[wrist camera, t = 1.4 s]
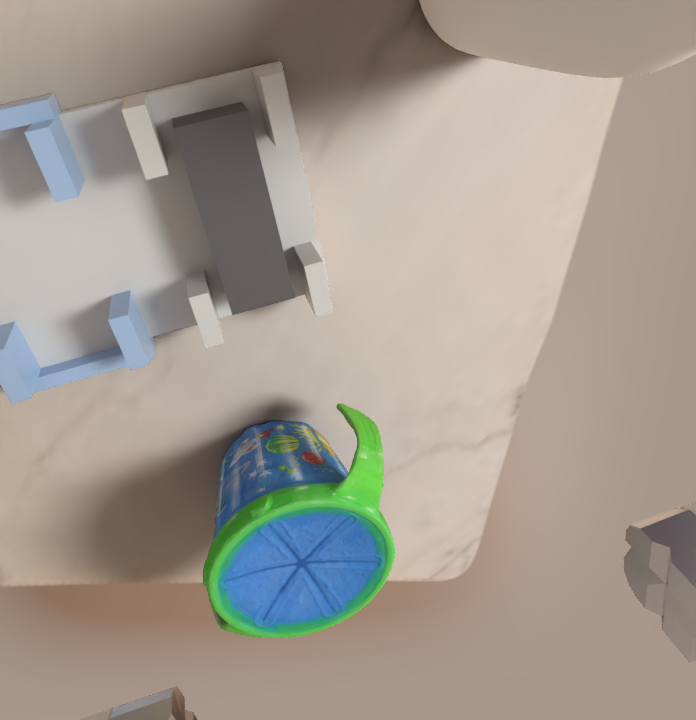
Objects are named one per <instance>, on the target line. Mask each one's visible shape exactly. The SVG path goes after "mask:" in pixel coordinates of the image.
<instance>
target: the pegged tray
mask: <svg viewBox="0 0 696 720" xmlns="http://www.w3.org/2000/svg"><path fill="white" fill-rule="evenodd" d="M239 102H242V103H243V104H244V105H245V107H246V108H247V109H248V111H249V115H250V119H251V123H252V127H253V131H254V135H255V139H256V143H257V147H258V151H259V155H260V159H261V163H262V167H263V171H264V175H265V179H266V183H267V187H268V191H269V195H270V199H271V203H272V207H273V211H274V215H275V219H276V223H277V227H278V231H279V235H280V239H281V243H282V247H283V251H284V255H285V259H286V263H287V267H288V271H289V275H290V279H291V283H292V287H293V291H294V295H295V297H297V296H300V295H304V294H305V295H306V298H307V300H308V302H309V304H310V306H311V308H312V310H313V312H314V314H315V316H316V317H318V316H321V315H325V314H328V313H332V312H334V311H333V306H332V301H331V297H330V292H329V287H330V286H329V281H328V277H327V272H326V267H325V262H324V258H323V253H322V248H321V244H320V239H319V234H318V230H317V225H316V220H315V216H314V211H313V206H312V201H311V197H310V192H309V187H308V183H307V178H306V173H305V169H304V164H303V159H302V155H301V150H300V145H299V141H298V136H297V131H296V126H295V122H294V117H293V112H292V108H291V103H290V98H289V94H288V89H287V84H286V80H285V75H284V70H283V65H282V63H281V62H279V61H276V62H272V63H268V64H263V65H259V66H255V67H250V68H246V69H242V70H237V71H233V72H229V73H224V74H220V75H216V76H211V77H207V78H203V79H198V80H194V81H190V82H185V83H181V84H176V85H172V86H168V87H163V88H159V89H155V90H150V91H146V92H142V93H137V94H133V95H129V96H124V97H120V98H116V99H111V100H107V101H103V102H98V103H94V104H90V105H85V106H81V107H77V108H72V109H68V110H64V111H61V109H60V107H59V105H58V102H57V100H56V97H55V95H54V93H51V94H47V95H43V96H38V97H34V98H29V99H25V100H21V101H16V102H12V103H7V104H3V105H0V385H1V387H2V389H3V390H4V392H5V394H6V395H7V397H8V399H9V400H10V402H11V404H13V403H17V402H20V401H24V400H27V399H31V398H32V396H33V393H35V392H38V391H42V390H45V389H49V388H52V387H56V386H59V385H63V384H66V383H70V382H73V381H77V380H80V379H84V378H87V377H91V376H94V375H98V374H101V373H105V372H108V371H112V370H115V369H119V368H122V367H126V366H129V368H130V370H132V369H136V368H139V367H143V366H146V365H149V361H150V360H151V359H154V358H155V340H154V338H153V337H154V336H158V335H161V334H165V333H168V332H172V331H175V330H179V329H183V328H186V327H190V326H193V325H197V324H198V327H199V329H200V332H201V335H202V338H203V341H204V344H205V346H206V348H209V347H213V346H216V345H220V344H223V343H225V341H224V336H223V331H222V326H221V320H220V318H222V317H225V316H229V315H232V312H231V309H230V306H229V303H228V300H227V296H226V293H225V290H224V287H223V284H222V281H221V278H220V274H219V271H218V268H217V265H216V262H215V259H214V256H213V252H212V249H211V246H210V243H209V240H208V237H207V234H206V230H205V227H204V224H203V221H202V218H201V215H200V212H199V208H198V205H197V202H196V199H195V196H194V193H193V189H192V186H191V183H190V180H189V177H188V174H187V171H186V167H185V164H184V161H183V158H182V155H181V152H180V149H179V145H178V142H177V139H176V136H175V133H174V130H173V123H172V118H176V117H180V116H184V115H188V114H192V113H197V112H201V111H205V110H209V109H214V108H218V107H222V106H226V105H230V104H235V103H239Z"/></svg>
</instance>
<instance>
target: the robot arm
mask: <svg viewBox="0 0 696 720" xmlns="http://www.w3.org/2000/svg"><path fill="white" fill-rule="evenodd" d="M626 541H627V542H628V544H629V545H630V546H631V549H630V550H629V551H628V552H627V554H626V555H625V557H624V572H625V575H626V577H627V580H628V583H629V586H630V587H631V589H632V591H633V593H634V594H635V596H636V597H637V599H638V600H639V601H640V602H641V603H642V605H643V606H644V607H645V608H646V609H648V610H650V611H652V612H654V613H657V614H659V615H661V616H662V630H663V631H664V632H665V633H666V635H667V636H668V637H669V638H670V640H671V641H672V642H673V643H674V644H675V646H676V647H677V648H678V649H679V651H680V652H681V653H682V654H683V655H684V657H685V658H686V659H687V660H688V662H692V661H695V660H696V502H693V503H691V504H688V505H686V506H683V507H680V508H675V509H672V510H669V511H667V512H664V513H661V514H659V515H656V516H653V517H651V518H648V519H645V520H642V521H640V522H637V523H634V524H632V525H630V526H629V527H628V529H627V530H626ZM184 699H185V698H184V696H183V694H182V692H181V691H180V689H179V688H178V686H176V687H173V688H170V689H167V690H164V691H161V692H158V693H156V694H152V695H149V696H147V697H143V698H140V699H137V700H135V701H132V702H129V703H126V704H123V705H120V706H117V707H113V708H110V709H107V710H104V711H102V712H99V713H96V714H93V715H90V716H87V717H85V718H82V719H81V720H197V718H196V716H195V715H194V713H193V712H191V711H188V710H185V700H184Z"/></svg>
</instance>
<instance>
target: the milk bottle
mask: <svg viewBox="0 0 696 720" xmlns="http://www.w3.org/2000/svg"><path fill="white" fill-rule="evenodd" d="M419 1H420V5H421V8H422V10H423V13H424V15H425V17H426V19H427V21H428V23H429V24H430V26H431V27H432V29H433V30H434V31H435V33H436V34H437V35H438V36H439V37H440V38H441V39H442V40H443V41H444V42H446V43H447V44H448V45H450V46H452V47H453V48H455V49H457V50H459V51H462V52H465V53H469V54H472V55H476V56H481V57H485V58H490V59H495V60H500V61H505V62H509V63H514V64H519V65H524V66H529V67H535V68H540V69H545V70H551V71H556V72H561V73H567V74H574V75H582V76H590V77H601V78H611V77H629V76H634V75H640V74H646V73H650V72H653V71H656V70H660V69H663V68H666V67H669V66H671V65H674V64H676V63H678V62H681V61H683V60H685V59H687V58H689V57H691V56H693V55H695V54H696V0H419Z"/></svg>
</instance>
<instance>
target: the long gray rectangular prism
mask: <svg viewBox="0 0 696 720" xmlns="http://www.w3.org/2000/svg"><path fill="white" fill-rule="evenodd" d="M172 123H173V130H174V133H175V136H176V139H177V142H178V145H179V149H180V152H181V155H182V158H183V161H184V164H185V167H186V171H187V174H188V177H189V180H190V183H191V186H192V189H193V193H194V196H195V199H196V202H197V205H198V208H199V212H200V215H201V218H202V221H203V224H204V227H205V230H206V234H207V237H208V240H209V243H210V246H211V249H212V252H213V256H214V259H215V262H216V265H217V268H218V271H219V274H220V278H221V281H222V284H223V287H224V290H225V293H226V296H227V300H228V303H229V306H230V309H231V312H232V315H234V314H238V313H242V312H245V311H249V310H252V309H256V308H259V307H263V306H267V305H270V304H274V303H277V302H281V301H284V300H288V299H292V298H295V295H294V291H293V287H292V283H291V279H290V275H289V271H288V267H287V263H286V259H285V255H284V251H283V247H282V243H281V239H280V235H279V231H278V227H277V223H276V219H275V215H274V211H273V207H272V203H271V199H270V195H269V191H268V187H267V183H266V179H265V175H264V171H263V167H262V163H261V159H260V155H259V151H258V147H257V143H256V139H255V135H254V131H253V127H252V123H251V119H250V115H249V111H248V109H247V108H246V107H245V105H244V104H243V103H242V102H239V103H235V104H230V105H226V106H222V107H218V108H214V109H209V110H205V111H201V112H197V113H192V114H188V115H184V116H180V117H176V118H172Z"/></svg>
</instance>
